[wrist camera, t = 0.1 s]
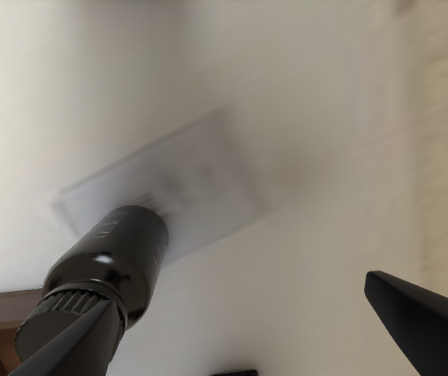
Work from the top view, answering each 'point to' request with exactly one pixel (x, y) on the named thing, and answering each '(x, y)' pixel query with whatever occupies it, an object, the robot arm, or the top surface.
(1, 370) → the holder
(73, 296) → the supplement bottle
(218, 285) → the top surface
